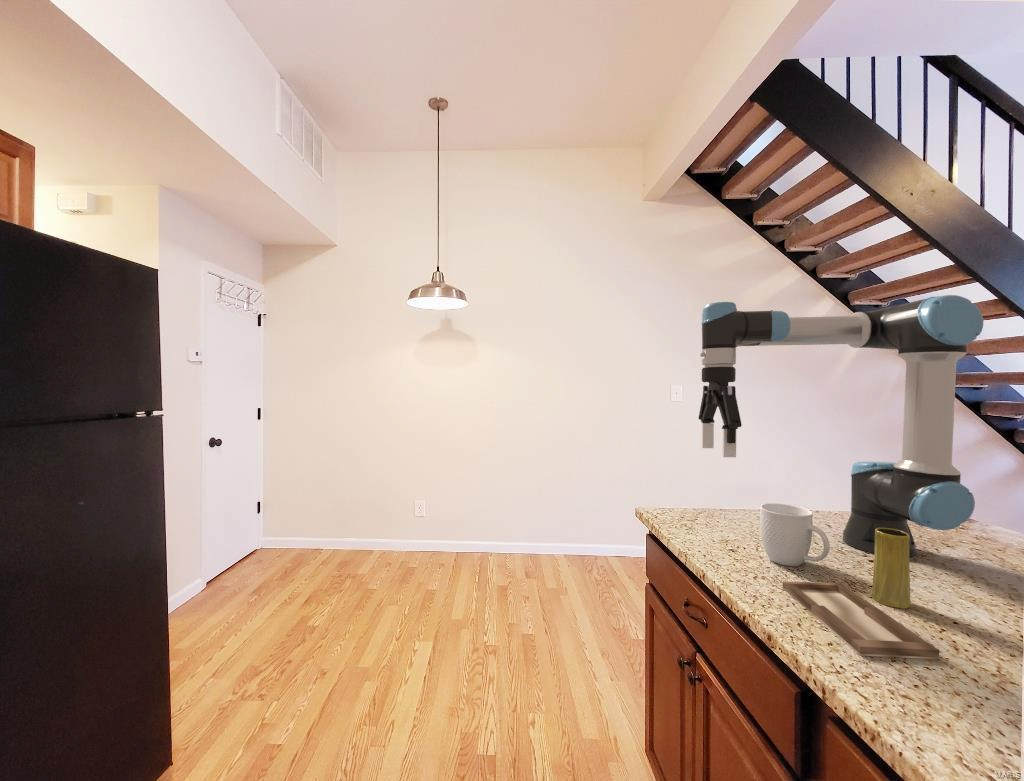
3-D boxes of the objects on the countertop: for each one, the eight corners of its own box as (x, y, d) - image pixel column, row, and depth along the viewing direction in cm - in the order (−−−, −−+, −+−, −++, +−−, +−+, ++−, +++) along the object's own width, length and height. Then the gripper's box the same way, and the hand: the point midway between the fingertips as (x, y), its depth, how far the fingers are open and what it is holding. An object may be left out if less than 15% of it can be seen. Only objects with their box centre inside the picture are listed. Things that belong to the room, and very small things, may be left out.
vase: (863, 593, 91) (864, 526, 90) (893, 594, 90) (894, 526, 90) (888, 608, 84) (889, 537, 84) (920, 609, 84) (921, 537, 84)
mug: (838, 569, 102) (839, 515, 102) (818, 581, 96) (819, 523, 96) (772, 549, 115) (773, 500, 114) (750, 558, 109) (751, 507, 108)
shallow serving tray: (841, 590, 92) (841, 583, 92) (939, 659, 69) (939, 650, 69) (782, 588, 93) (782, 581, 93) (860, 655, 70) (860, 646, 70)
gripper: (686, 368, 118) (686, 444, 119) (723, 364, 93) (722, 461, 94) (714, 368, 118) (714, 445, 118) (759, 364, 93) (758, 461, 93)
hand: (717, 452), depth 106 cm, fingers open, 13 cm apart
